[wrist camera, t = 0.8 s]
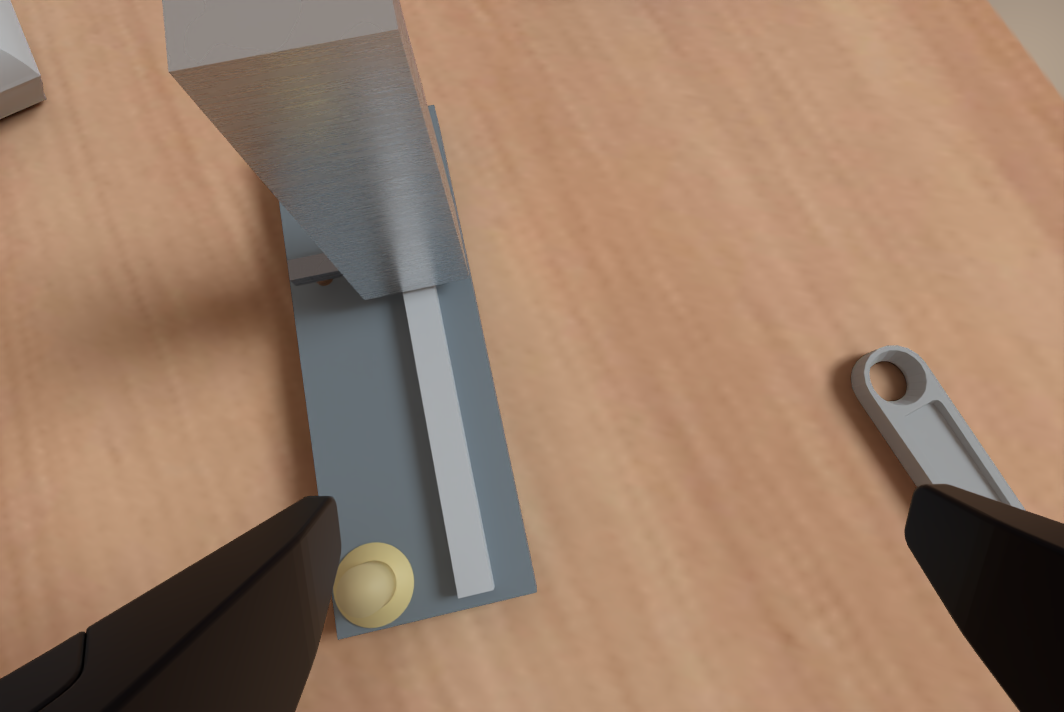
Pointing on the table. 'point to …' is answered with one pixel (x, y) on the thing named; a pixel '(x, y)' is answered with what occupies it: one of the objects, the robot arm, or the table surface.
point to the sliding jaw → (328, 131)
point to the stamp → (16, 66)
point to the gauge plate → (408, 447)
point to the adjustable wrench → (928, 429)
